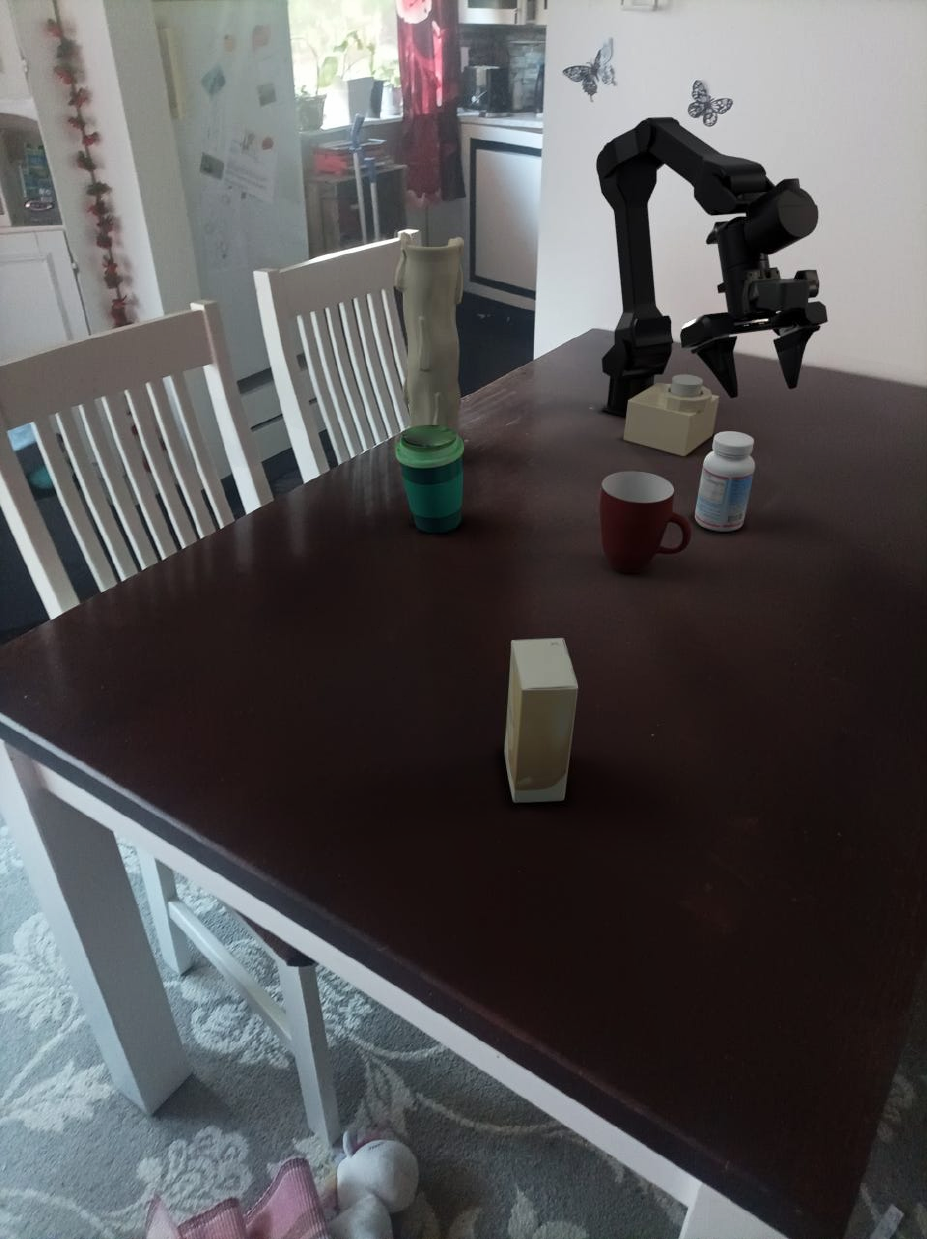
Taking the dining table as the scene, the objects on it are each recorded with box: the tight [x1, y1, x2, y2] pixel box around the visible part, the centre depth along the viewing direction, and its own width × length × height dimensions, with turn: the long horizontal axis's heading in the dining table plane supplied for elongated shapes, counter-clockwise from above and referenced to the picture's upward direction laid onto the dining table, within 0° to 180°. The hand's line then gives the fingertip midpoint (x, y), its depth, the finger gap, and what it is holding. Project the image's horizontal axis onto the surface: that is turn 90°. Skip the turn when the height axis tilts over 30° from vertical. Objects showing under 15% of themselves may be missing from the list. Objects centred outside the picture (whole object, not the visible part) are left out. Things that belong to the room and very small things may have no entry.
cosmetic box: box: [504, 637, 579, 804], centre depth 69 cm, size 6×4×12 cm
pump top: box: [670, 374, 704, 398], centre depth 125 cm, size 4×4×2 cm
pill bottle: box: [694, 430, 756, 533], centre depth 107 cm, size 6×6×11 cm
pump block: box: [623, 381, 720, 457], centre depth 130 cm, size 11×10×8 cm
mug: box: [598, 470, 692, 574], centre depth 98 cm, size 10×8×10 cm
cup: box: [395, 425, 465, 535], centre depth 105 cm, size 8×8×12 cm
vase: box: [394, 231, 465, 436], centre depth 117 cm, size 9×8×30 cm
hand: (764, 393), depth 111 cm, fingers open, 9 cm apart
